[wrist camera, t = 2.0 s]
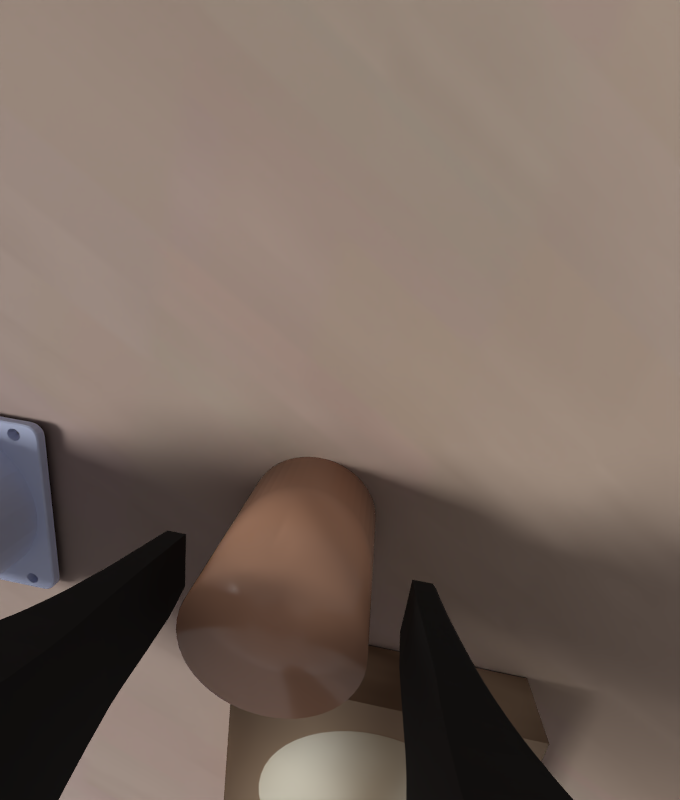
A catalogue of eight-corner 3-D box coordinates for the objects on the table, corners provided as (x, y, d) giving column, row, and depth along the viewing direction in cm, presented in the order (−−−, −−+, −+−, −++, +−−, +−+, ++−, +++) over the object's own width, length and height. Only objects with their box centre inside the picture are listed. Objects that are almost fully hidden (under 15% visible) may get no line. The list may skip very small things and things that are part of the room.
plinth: (238, 791, 22) (219, 857, 19) (253, 621, 18) (232, 675, 15) (462, 846, 21) (471, 921, 18) (527, 678, 17) (549, 745, 15)
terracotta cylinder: (247, 553, 17) (175, 696, 11) (255, 446, 15) (176, 548, 10) (365, 577, 17) (352, 735, 11) (385, 469, 15) (382, 589, 9)
